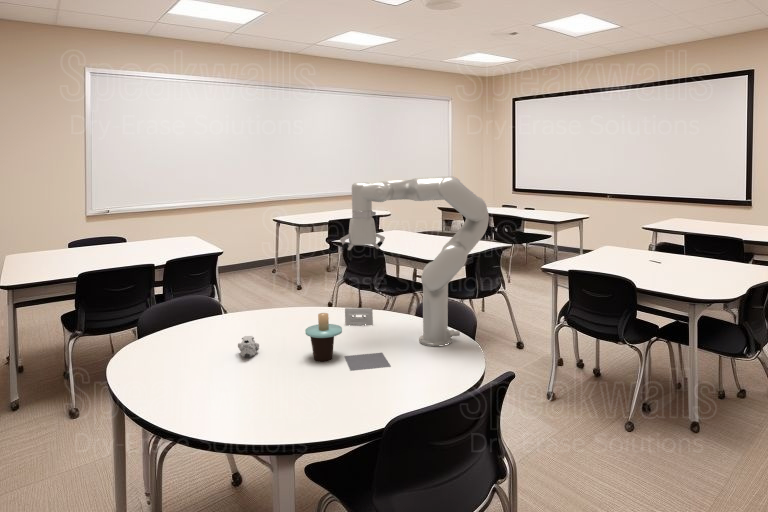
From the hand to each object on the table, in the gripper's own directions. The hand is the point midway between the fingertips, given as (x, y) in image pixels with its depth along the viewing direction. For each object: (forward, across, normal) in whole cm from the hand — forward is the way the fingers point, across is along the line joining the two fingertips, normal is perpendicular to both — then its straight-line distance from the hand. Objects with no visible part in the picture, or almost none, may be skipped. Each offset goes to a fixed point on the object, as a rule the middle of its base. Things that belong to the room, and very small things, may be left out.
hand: (363, 259), depth 203 cm
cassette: (+33, -1, -19) cm, 38 cm away
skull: (+33, +45, +6) cm, 56 cm away
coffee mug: (+32, +18, +17) cm, 41 cm away
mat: (+32, +4, +25) cm, 41 cm away
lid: (+22, +18, +17) cm, 33 cm away
